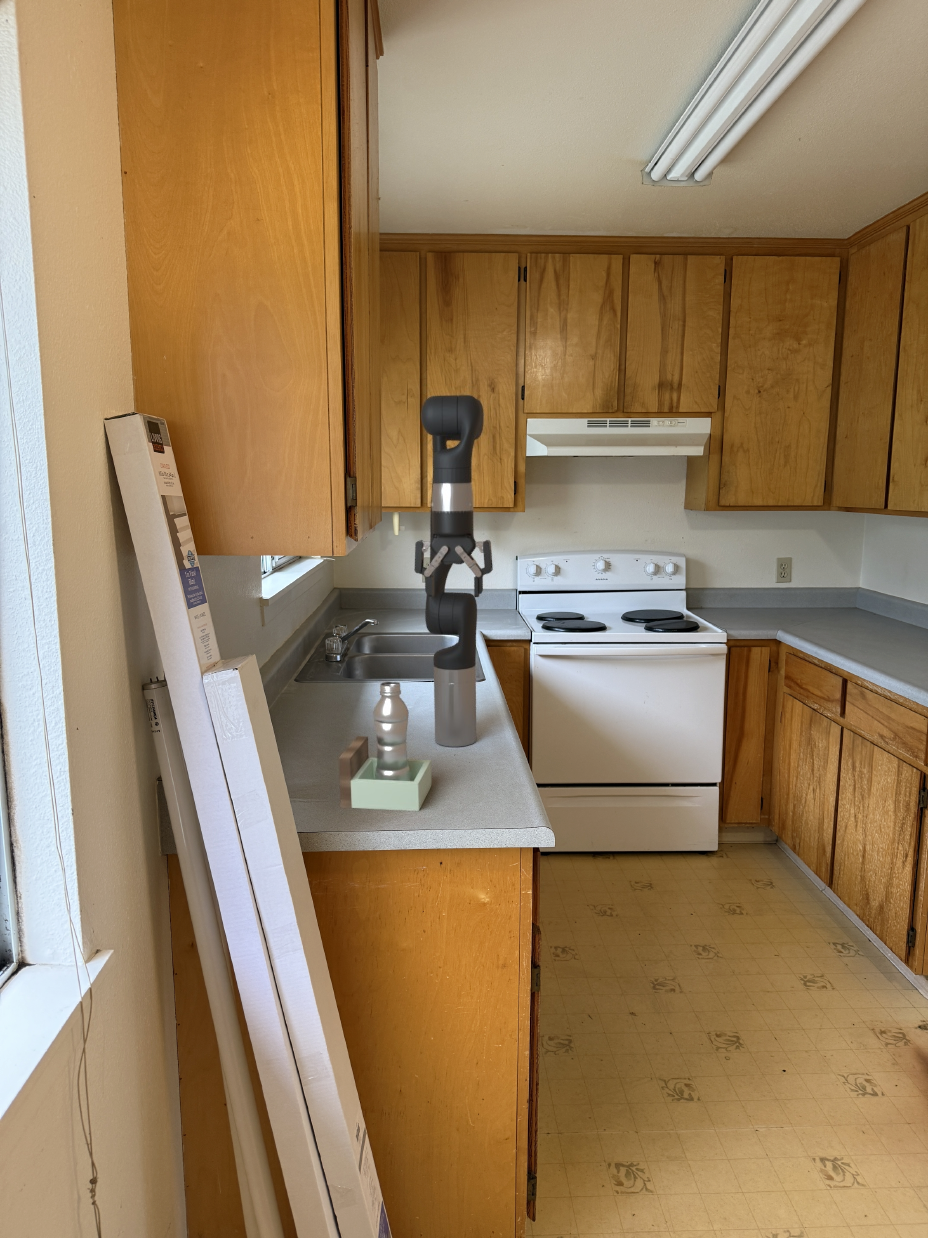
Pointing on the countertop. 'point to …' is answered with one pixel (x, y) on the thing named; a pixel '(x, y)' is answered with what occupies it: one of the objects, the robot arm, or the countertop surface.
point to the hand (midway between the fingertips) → (454, 596)
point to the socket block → (391, 787)
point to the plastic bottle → (391, 734)
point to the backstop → (351, 767)
